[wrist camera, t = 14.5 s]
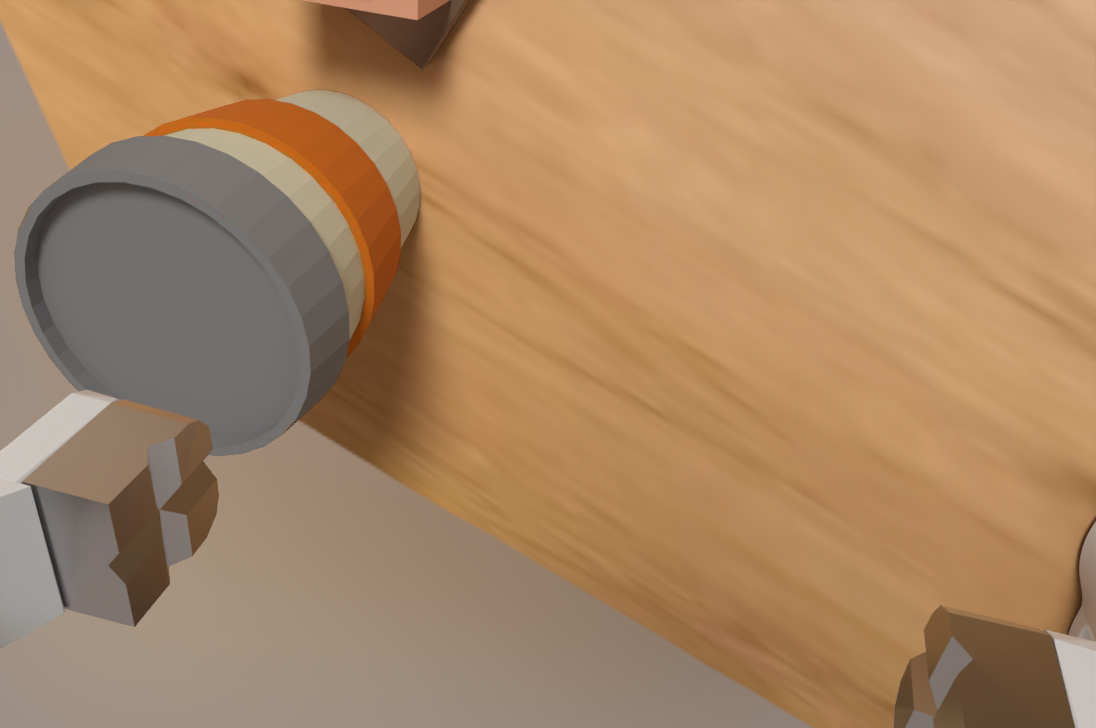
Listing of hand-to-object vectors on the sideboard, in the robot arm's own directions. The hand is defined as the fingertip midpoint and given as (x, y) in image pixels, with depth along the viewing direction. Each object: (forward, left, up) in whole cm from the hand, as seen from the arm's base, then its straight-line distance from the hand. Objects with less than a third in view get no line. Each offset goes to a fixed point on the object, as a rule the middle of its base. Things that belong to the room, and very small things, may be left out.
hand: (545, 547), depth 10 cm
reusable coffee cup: (+10, +20, -33) cm, 40 cm away
